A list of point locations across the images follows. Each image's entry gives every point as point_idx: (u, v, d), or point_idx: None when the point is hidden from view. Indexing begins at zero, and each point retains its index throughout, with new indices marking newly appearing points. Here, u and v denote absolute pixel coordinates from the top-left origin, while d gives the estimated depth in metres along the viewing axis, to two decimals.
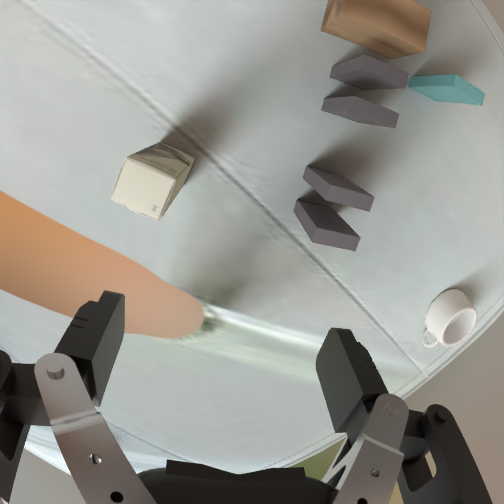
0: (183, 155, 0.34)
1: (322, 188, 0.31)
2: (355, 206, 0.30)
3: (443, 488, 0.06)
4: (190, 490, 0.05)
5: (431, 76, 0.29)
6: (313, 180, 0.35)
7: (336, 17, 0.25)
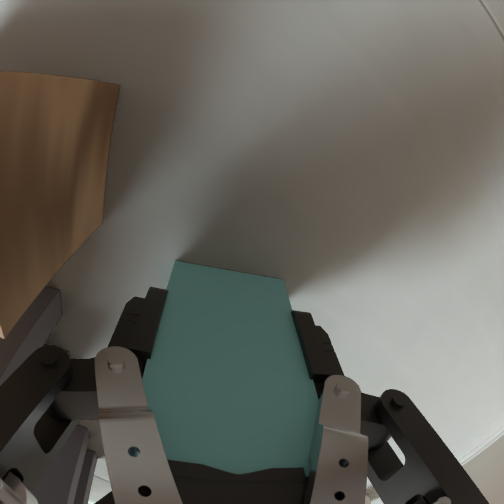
0: None
1: None
2: None
3: (417, 475, 0.06)
4: (190, 490, 0.05)
5: None
6: None
7: None
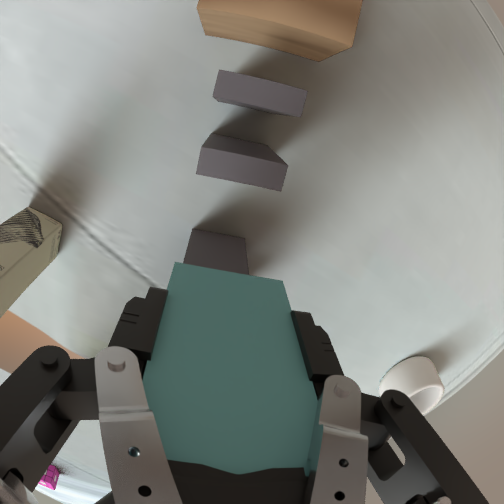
0: (43, 226, 0.26)
1: None
2: None
3: (417, 475, 0.06)
4: (190, 490, 0.05)
5: None
6: None
7: None
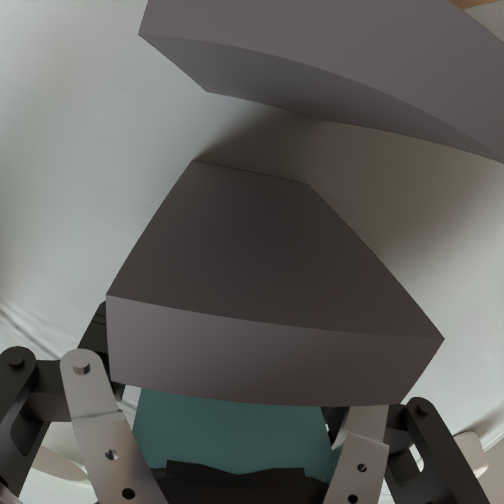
0: None
1: None
2: None
3: (432, 482, 0.06)
4: (190, 490, 0.05)
5: None
6: None
7: None
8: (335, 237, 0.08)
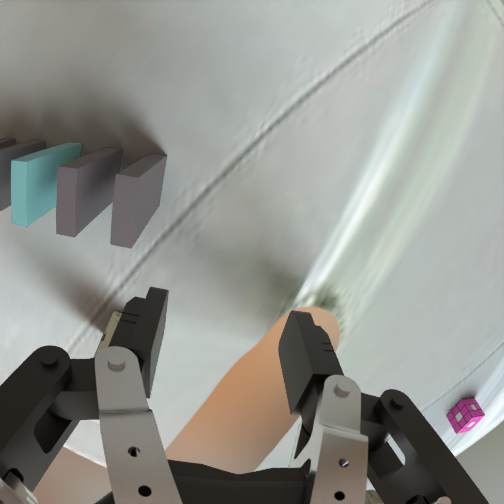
0: None
1: None
2: (74, 193, 0.19)
3: (417, 475, 0.06)
4: (190, 490, 0.05)
5: None
6: None
7: None
8: None
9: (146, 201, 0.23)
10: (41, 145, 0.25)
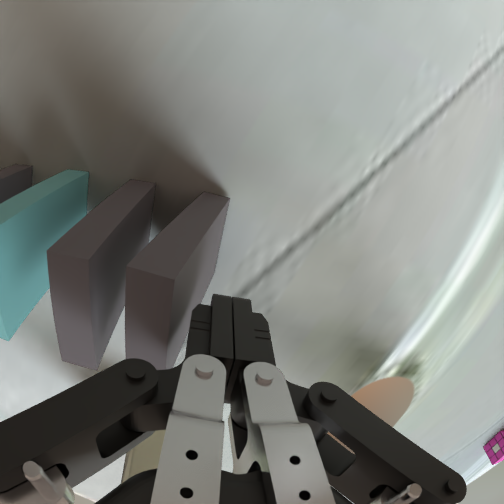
0: None
1: None
2: (86, 304, 0.09)
3: (374, 468, 0.06)
4: None
5: None
6: None
7: None
8: None
9: (193, 293, 0.13)
10: (25, 174, 0.16)
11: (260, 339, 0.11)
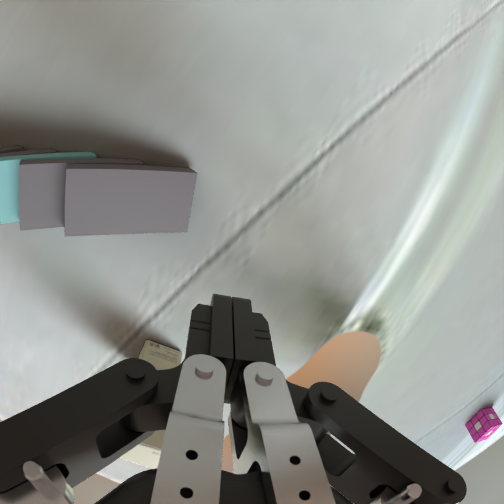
0: None
1: None
2: (19, 187, 0.18)
3: (374, 468, 0.06)
4: None
5: None
6: None
7: None
8: None
9: (111, 204, 0.21)
10: None
11: (260, 339, 0.11)
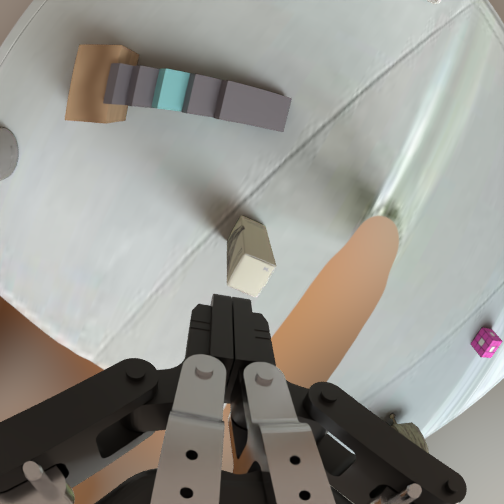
0: (237, 227, 0.46)
1: None
2: (192, 87, 0.33)
3: (374, 468, 0.06)
4: None
5: None
6: None
7: None
8: None
9: (247, 106, 0.37)
10: None
11: (260, 339, 0.11)
